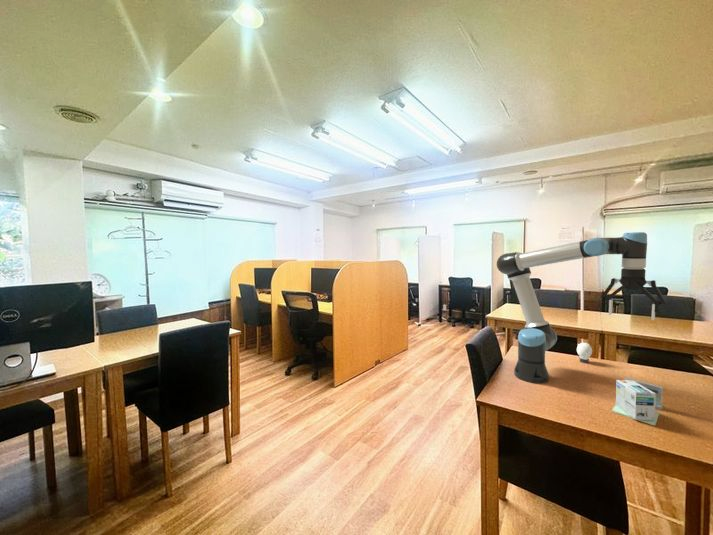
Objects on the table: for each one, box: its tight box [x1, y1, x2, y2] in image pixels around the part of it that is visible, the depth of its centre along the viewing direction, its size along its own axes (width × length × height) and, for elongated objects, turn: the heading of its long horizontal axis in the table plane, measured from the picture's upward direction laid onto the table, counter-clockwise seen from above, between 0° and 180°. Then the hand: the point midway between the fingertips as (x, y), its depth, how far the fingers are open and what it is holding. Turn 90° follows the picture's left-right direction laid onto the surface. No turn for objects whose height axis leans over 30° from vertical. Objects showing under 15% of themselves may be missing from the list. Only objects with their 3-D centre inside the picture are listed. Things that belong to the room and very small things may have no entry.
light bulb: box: [576, 342, 593, 364], centre depth 161 cm, size 7×7×11 cm
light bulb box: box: [615, 379, 656, 421], centre depth 112 cm, size 11×7×11 cm, turn 171°
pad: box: [611, 404, 660, 426], centre depth 113 cm, size 12×11×1 cm
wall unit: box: [623, 376, 664, 411], centre depth 119 cm, size 12×3×9 cm, turn 38°
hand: (630, 316), depth 125 cm, fingers open, 13 cm apart
